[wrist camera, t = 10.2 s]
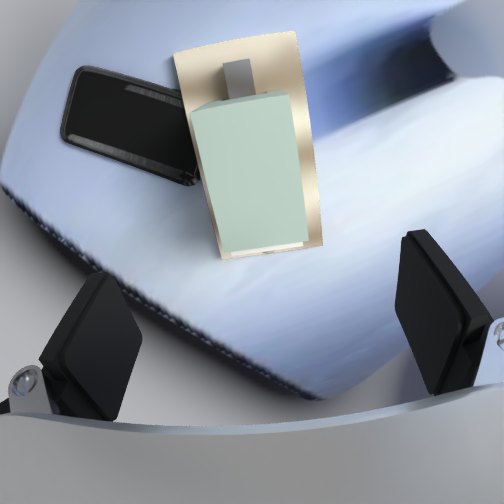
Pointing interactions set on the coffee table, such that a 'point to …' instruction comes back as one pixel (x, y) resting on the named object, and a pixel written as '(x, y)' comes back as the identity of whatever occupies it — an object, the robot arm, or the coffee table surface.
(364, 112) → the coffee table surface
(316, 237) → the board
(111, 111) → the phone
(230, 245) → the mint green box
